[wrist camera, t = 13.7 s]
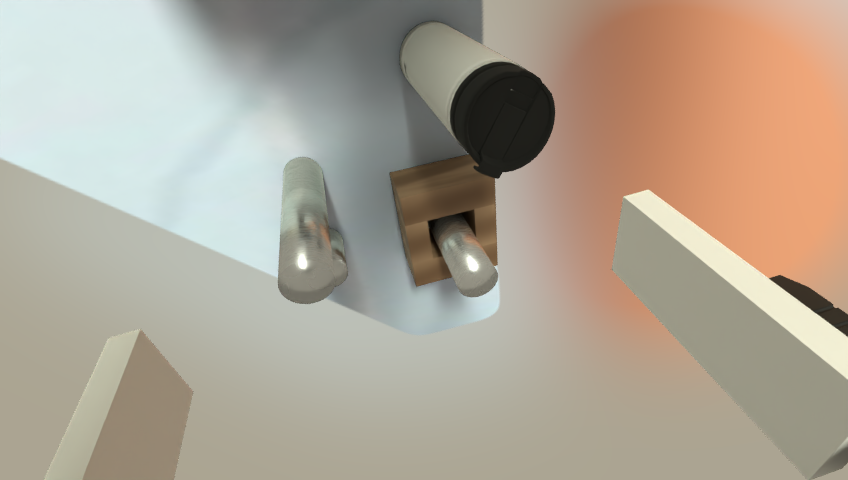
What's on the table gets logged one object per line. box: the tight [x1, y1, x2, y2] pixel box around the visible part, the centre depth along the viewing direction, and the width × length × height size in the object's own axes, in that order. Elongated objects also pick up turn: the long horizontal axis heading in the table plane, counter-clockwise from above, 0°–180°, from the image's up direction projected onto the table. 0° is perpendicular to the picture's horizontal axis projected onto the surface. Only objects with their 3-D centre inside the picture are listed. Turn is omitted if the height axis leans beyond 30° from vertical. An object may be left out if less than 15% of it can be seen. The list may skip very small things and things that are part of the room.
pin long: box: [278, 157, 335, 304], centre depth 38 cm, size 4×4×18 cm
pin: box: [427, 213, 498, 297], centre depth 46 cm, size 4×4×14 cm
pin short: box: [329, 228, 348, 287], centre depth 48 cm, size 4×4×6 cm
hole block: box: [390, 154, 498, 287], centre depth 49 cm, size 12×10×6 cm
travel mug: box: [399, 21, 555, 178], centre depth 34 cm, size 6×7×20 cm
